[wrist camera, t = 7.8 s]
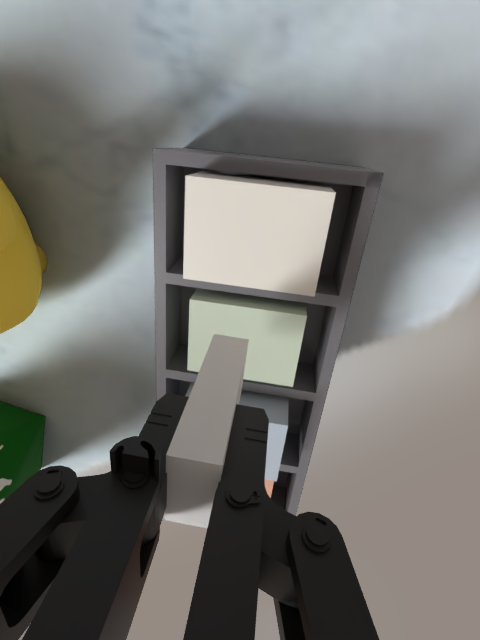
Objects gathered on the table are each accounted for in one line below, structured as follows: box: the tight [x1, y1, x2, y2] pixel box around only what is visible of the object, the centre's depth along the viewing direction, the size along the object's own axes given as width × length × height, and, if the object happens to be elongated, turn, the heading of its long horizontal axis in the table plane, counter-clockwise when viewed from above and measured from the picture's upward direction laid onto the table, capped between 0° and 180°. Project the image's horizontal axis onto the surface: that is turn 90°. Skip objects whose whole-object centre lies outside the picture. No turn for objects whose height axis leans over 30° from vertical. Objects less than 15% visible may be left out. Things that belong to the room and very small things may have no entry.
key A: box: [183, 171, 336, 297], centre depth 16 cm, size 4×6×3 cm
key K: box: [185, 382, 289, 482], centre depth 22 cm, size 4×6×3 cm
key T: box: [187, 288, 307, 387], centre depth 20 cm, size 4×6×3 cm
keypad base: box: [153, 148, 383, 516], centre depth 23 cm, size 24×10×5 cm, turn 175°
